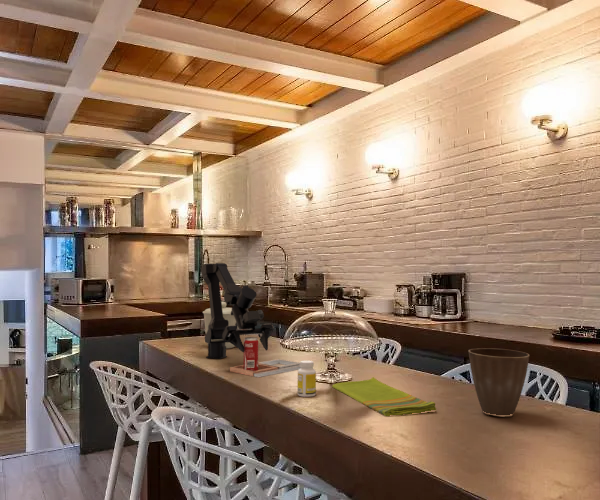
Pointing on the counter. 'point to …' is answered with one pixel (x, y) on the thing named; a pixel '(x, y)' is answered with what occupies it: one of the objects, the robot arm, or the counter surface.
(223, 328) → the robot arm
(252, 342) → the soda can
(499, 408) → the plant pot
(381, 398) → the dish towel
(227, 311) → the canister
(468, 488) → the counter surface
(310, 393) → the supplement bottle
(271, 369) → the socket rail
